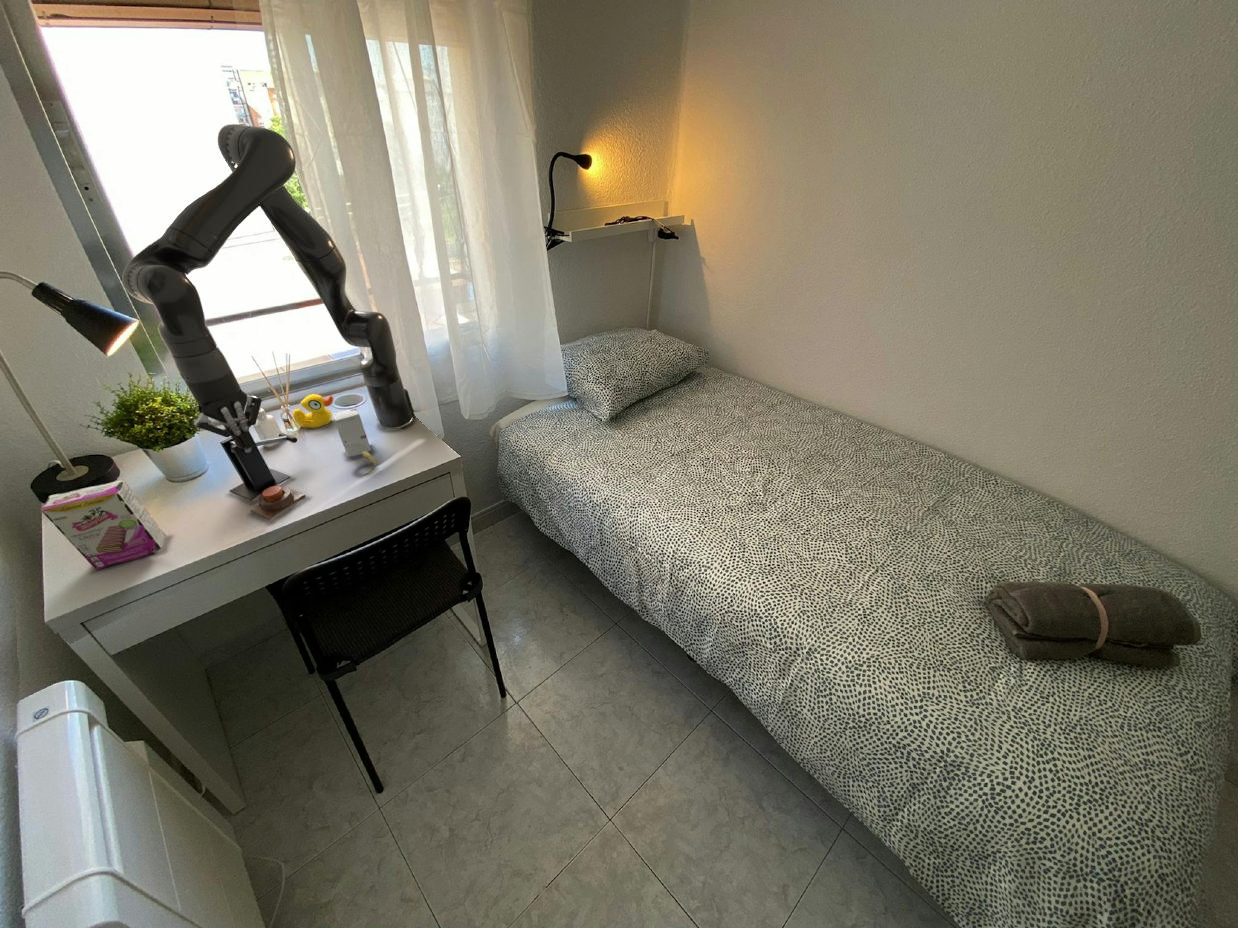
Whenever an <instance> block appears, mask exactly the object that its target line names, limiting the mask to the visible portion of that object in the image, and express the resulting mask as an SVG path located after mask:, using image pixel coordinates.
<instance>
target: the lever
mask: <svg viewBox="0 0 1238 928" xmlns="http://www.w3.org/2000/svg"><path fill="white" fill-rule="evenodd" d="M254 442H255V444H256V446H257V447H262V446H263V445H267V444H272V443H276V444H278V443H282V442H289V443H293V444H296V443H297V442H298V438H297V437H295V436H292V435H289V434H286V433H284V432H282V433H280V434H279V437H276V438H270V439H264V440H260V439H259V440H254ZM277 442H278V443H277ZM233 445H235V442H234V441H233V442H230V447H231V446H233ZM231 452H233V453H234V451H233V450H232V448H231Z"/></svg>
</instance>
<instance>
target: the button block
mask: <svg viewBox="0 0 1238 928" xmlns="http://www.w3.org/2000/svg"><path fill="white" fill-rule="evenodd" d="M279 487H280V488H281V489H282V491H283V493H284V495H283V496H282V497H281V498H279V499H277V500H274V501H266V499H265V498H264V496H263V493H262V494H261V495H259V496H257V504H256V505H255V506H254V507H251V508H250V509H249V511H250V512H251V513H254V514H256V515H258V516H260V517H263V518H265V519H267V520H271V519H273V518H274V517H276V516H277V515H279V514H281V513H282V512H284V511H285V510H287V509H288V508H289V507H291V506H293V505H294V504H296V503H298V502H299V501H300V500H302V499H304V498H305V497H306V494H304V493H301V492H299V491H296V490H295V489H292V488H290V487H287V486H279Z"/></svg>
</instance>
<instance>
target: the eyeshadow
mask: <svg viewBox="0 0 1238 928" xmlns="http://www.w3.org/2000/svg"><path fill="white" fill-rule="evenodd" d="M361 455H362V456H363V457H364V459H365V460H366V461H367V462H368V463H373V465H374V466H376V464H377V461H376V459H375V458H374V456H373V455H372V454H371V453H370V452H369V451H368V452H367V451H364V452H362V453H361ZM374 471H375V468H372V469H371V470H369V471H368V472H366V473H364V475H363V476H364V477H365V476H367V475H370V474H372V473H373V472H374Z"/></svg>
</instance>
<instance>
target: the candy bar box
mask: <svg viewBox="0 0 1238 928" xmlns="http://www.w3.org/2000/svg"><path fill="white" fill-rule="evenodd" d="M40 512H41V513H43V515H44V516H45V517H46V518H47V519H48V520H49V521H50V522H51V524H53V525H54V526H55V528H56V529H57V530H58V531H59V532H60V533H61V534H62V535H63V536H64V537H65V539H67V540H68V541H69V542H70V544H71V545H72V546H73V547H74V548H75V549H76V550H77V551H78V552H79V553H80V554H81V555H82V556H83V558H84V559H85V560H86V561H87V562H88V564H90V565H91V566H92V568H93V569H94V570H96V571H97V570H100V569H105V568H108V567H111V566H116V565H119V564H122V563H126V562H130V561H133V560H137V559H140V558H145V557H148V556H151V555H155V554H156V553H154V551H158V550H161V549H162V548H163V544H164V541H165V540H166V533H164V531H163V530H162V528H161V527H160V525H158V523H157V522H156V520H154V518H153V516H152V515H151V514H150V512H148V510H147V509H146V508H145V506H144V504H143V503H142V502H141V501H140V499H138V497H137V496H136V494H135V492H133V490H132V489H131V487H130V486H129V485H128V484H127V482H126V481H125V480H124V479H120V480H116V481H111V482H107V483H102V484H97V485H94V486H88V487H84V488H79V489H75V490H70V491H65V492H60V493H56V494H51V495H49V496H48V497H47V499H46V501H45V502H44V504H43V505H41V508H40Z"/></svg>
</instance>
